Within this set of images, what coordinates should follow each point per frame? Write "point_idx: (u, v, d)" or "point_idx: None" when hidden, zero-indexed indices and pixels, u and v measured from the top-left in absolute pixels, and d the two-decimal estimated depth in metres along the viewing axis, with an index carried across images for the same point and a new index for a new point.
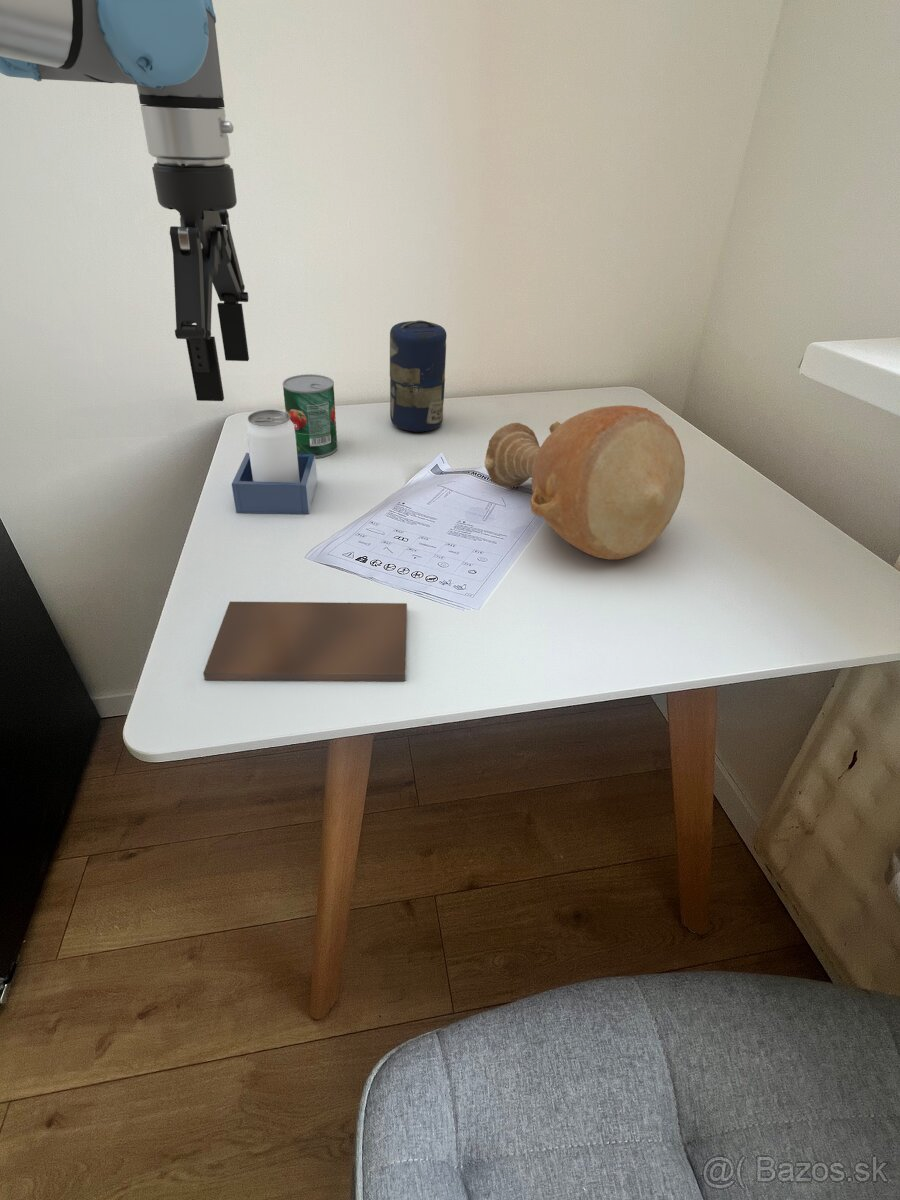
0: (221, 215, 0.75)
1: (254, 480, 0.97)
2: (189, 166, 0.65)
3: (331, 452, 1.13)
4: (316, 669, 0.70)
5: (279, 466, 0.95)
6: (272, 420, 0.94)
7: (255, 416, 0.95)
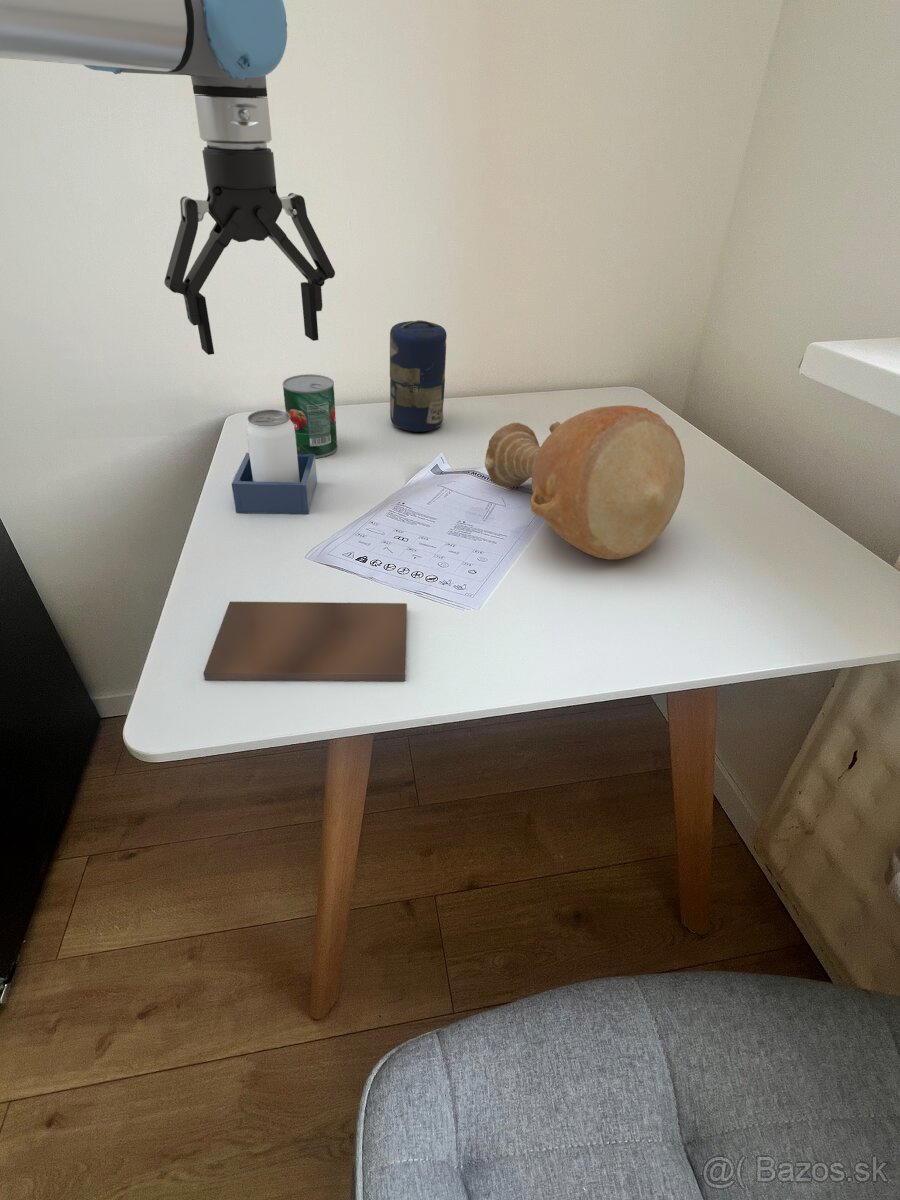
0: (293, 200, 0.81)
1: (254, 480, 0.97)
2: (210, 147, 0.74)
3: (331, 452, 1.13)
4: (316, 669, 0.70)
5: (279, 466, 0.95)
6: (272, 420, 0.94)
7: (255, 416, 0.95)
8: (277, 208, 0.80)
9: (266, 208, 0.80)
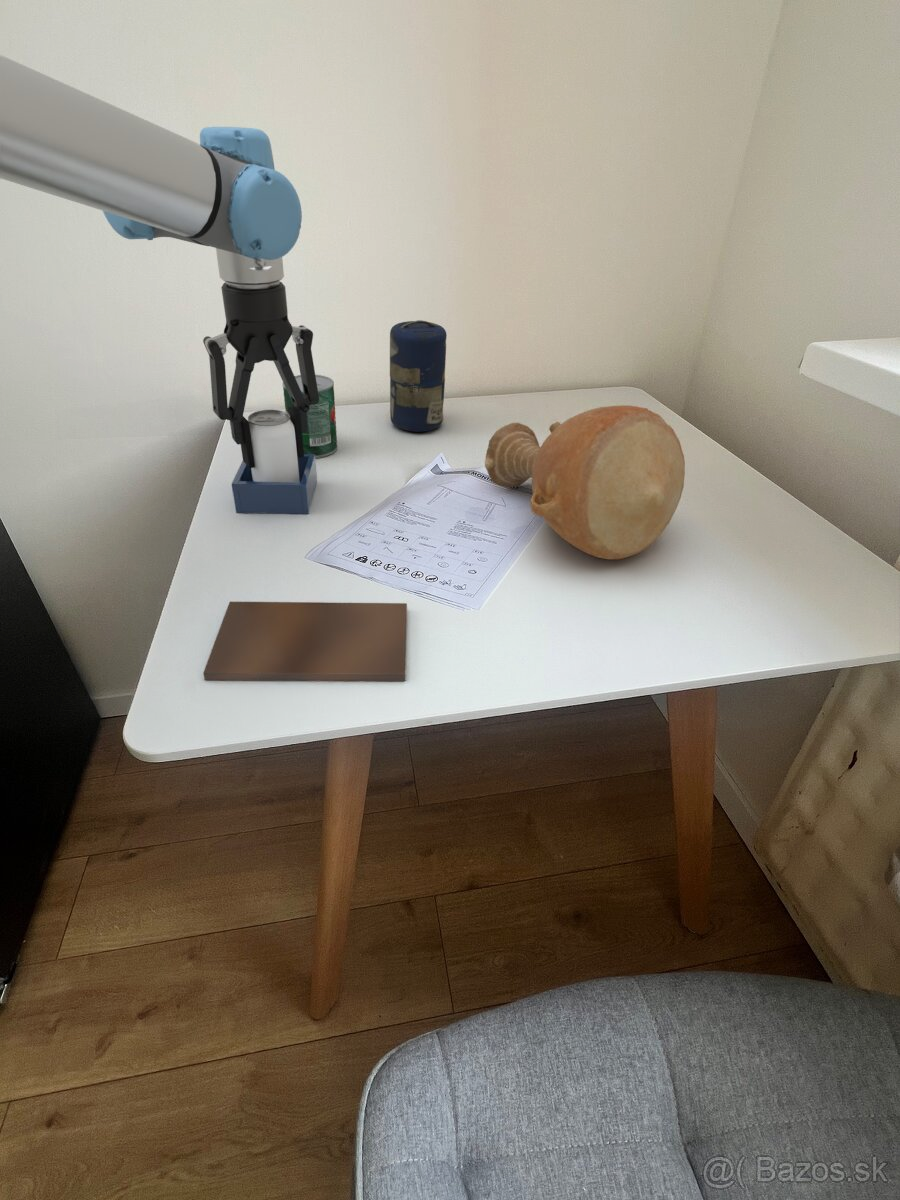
0: (303, 332, 0.90)
1: (254, 480, 0.97)
2: (229, 286, 0.82)
3: (331, 452, 1.13)
4: (316, 669, 0.70)
5: (279, 466, 0.95)
6: (272, 420, 0.94)
7: (255, 416, 0.95)
8: (288, 332, 0.88)
9: (278, 333, 0.88)
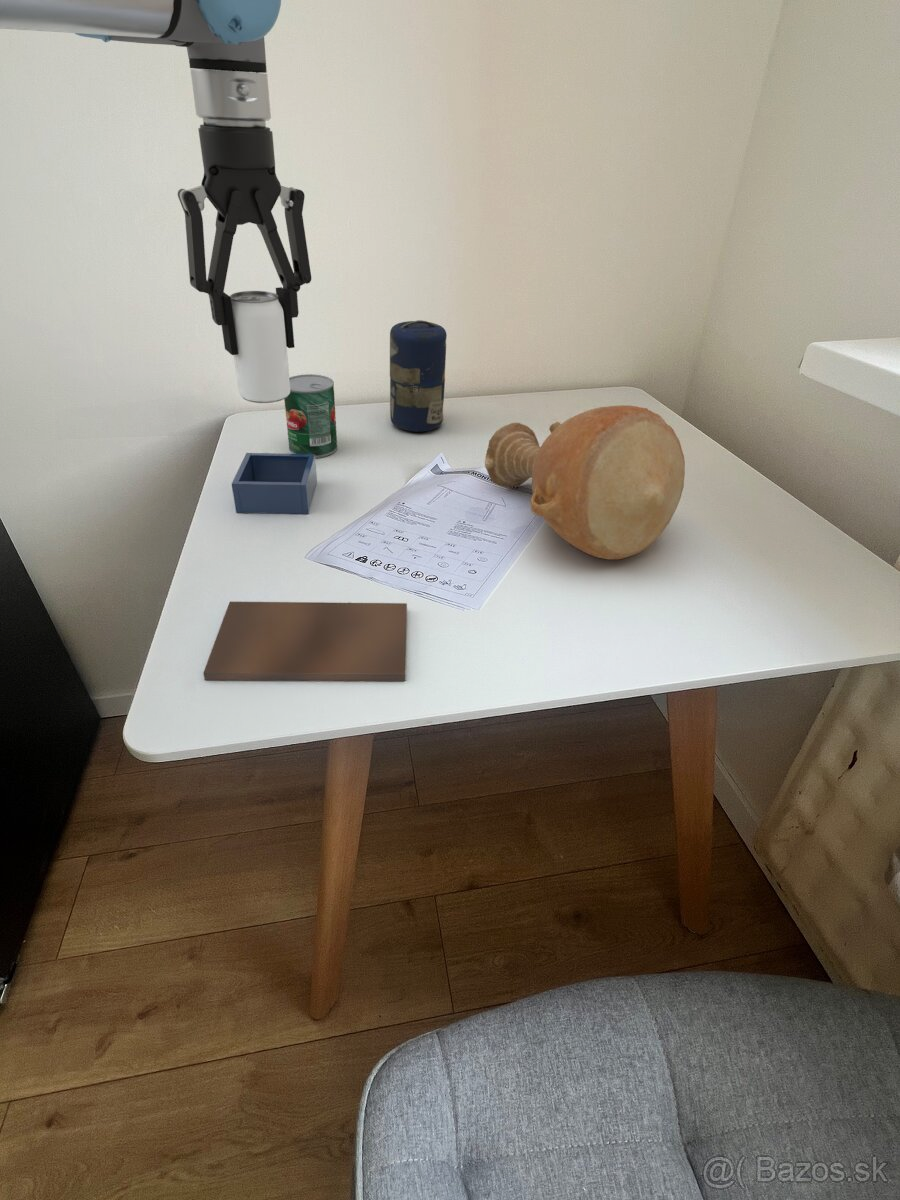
0: (293, 192, 0.79)
1: (237, 372, 0.86)
2: (207, 124, 0.71)
3: (331, 452, 1.13)
4: (316, 669, 0.70)
5: (265, 353, 0.84)
6: (258, 299, 0.83)
7: (238, 296, 0.84)
8: (276, 190, 0.77)
9: (264, 190, 0.77)
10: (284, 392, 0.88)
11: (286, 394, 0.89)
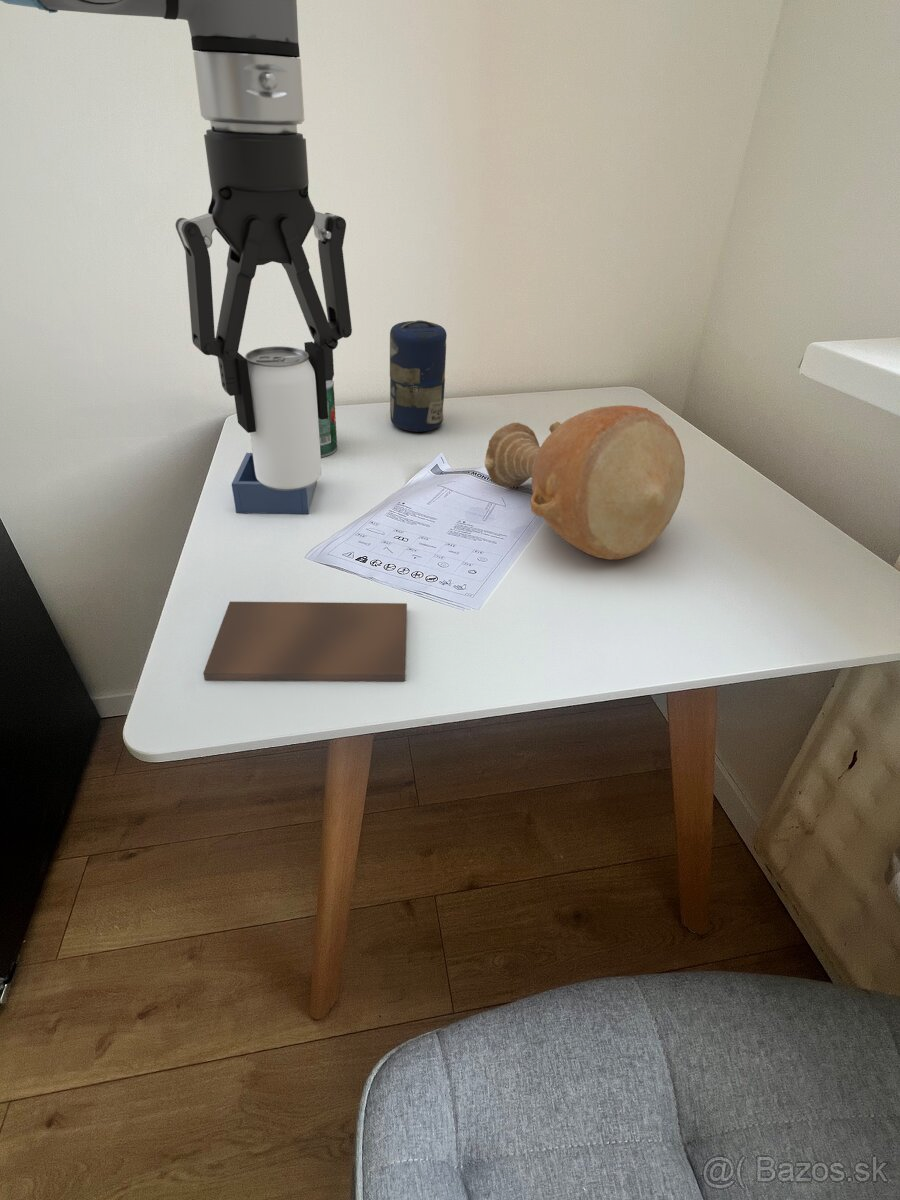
0: (331, 220, 0.58)
1: (254, 452, 0.66)
2: (216, 130, 0.51)
3: (331, 452, 1.13)
4: (316, 669, 0.70)
5: (292, 430, 0.64)
6: (282, 360, 0.62)
7: (256, 355, 0.63)
8: (309, 218, 0.57)
9: (293, 218, 0.56)
10: (314, 475, 0.68)
11: (317, 477, 0.68)
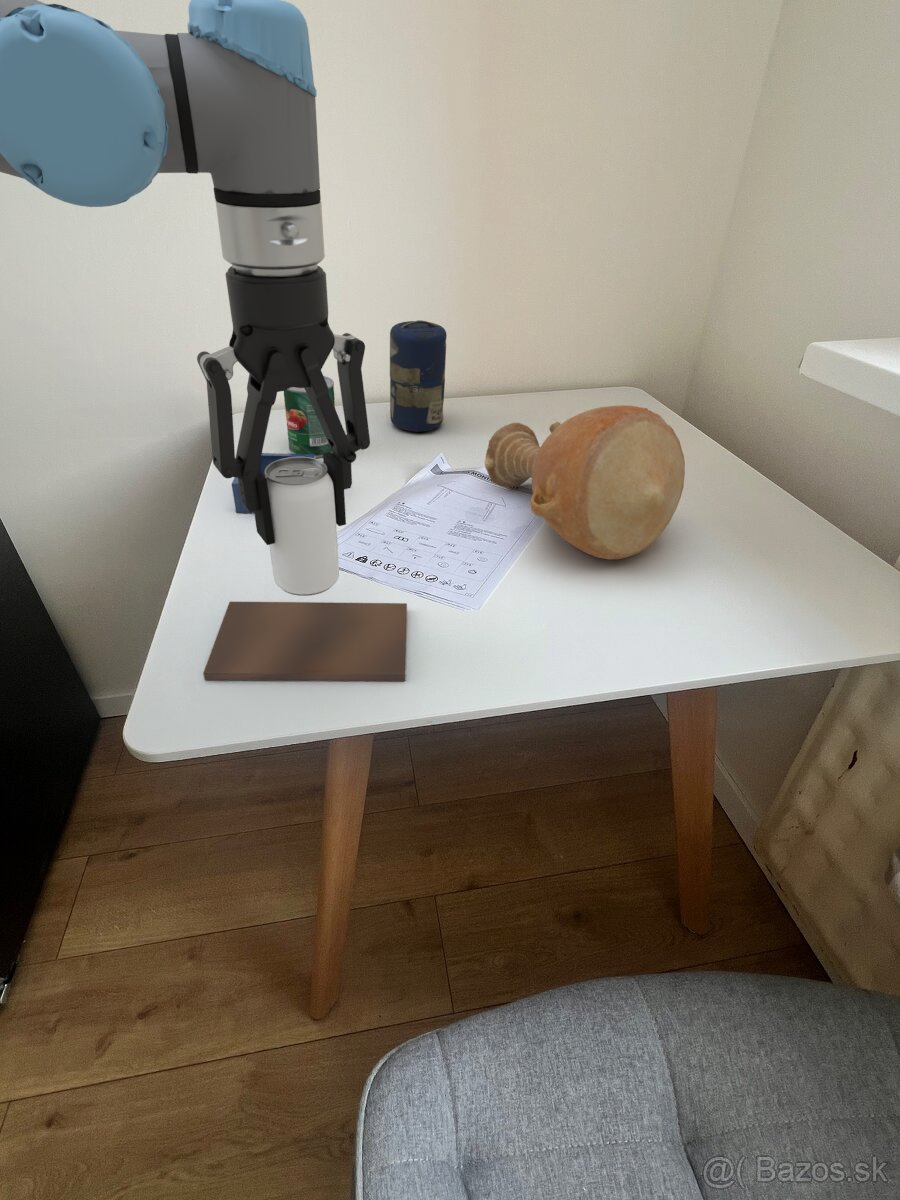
0: (350, 343, 0.59)
1: (273, 559, 0.66)
2: (238, 272, 0.51)
3: (331, 452, 1.13)
4: (316, 669, 0.70)
5: (311, 542, 0.64)
6: (301, 474, 0.63)
7: (275, 468, 0.64)
8: (328, 344, 0.57)
9: (313, 346, 0.57)
10: (332, 580, 0.68)
11: (335, 581, 0.69)
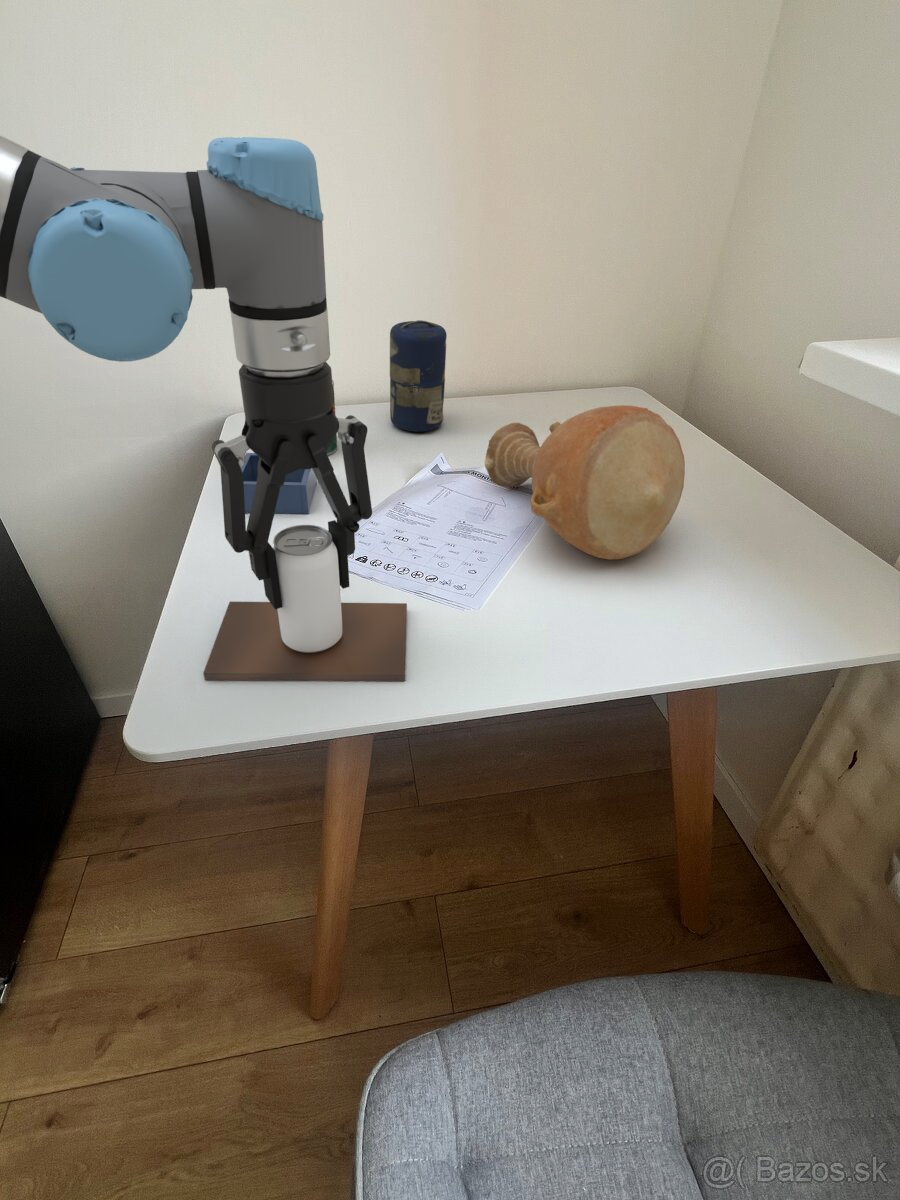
0: (353, 427, 0.63)
1: (281, 620, 0.71)
2: (251, 372, 0.56)
3: (331, 452, 1.13)
4: (316, 669, 0.70)
5: (316, 605, 0.68)
6: (307, 544, 0.67)
7: (283, 536, 0.68)
8: (333, 430, 0.62)
9: (319, 432, 0.61)
10: (336, 638, 0.73)
11: (338, 638, 0.73)
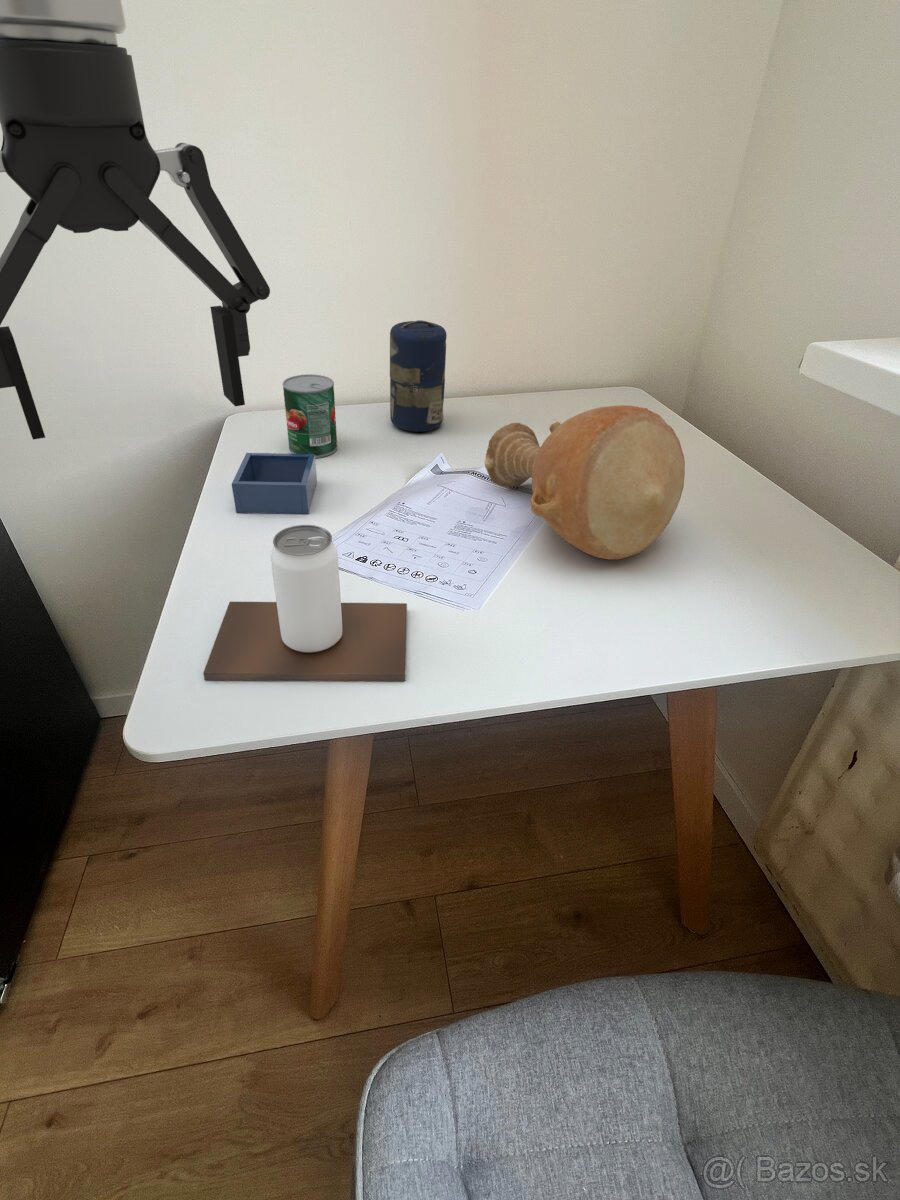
0: (182, 155, 0.43)
1: (281, 620, 0.71)
2: None
3: (331, 452, 1.13)
4: (316, 669, 0.70)
5: (316, 605, 0.68)
6: (307, 544, 0.67)
7: (283, 536, 0.68)
8: (149, 169, 0.42)
9: (126, 168, 0.41)
10: (336, 638, 0.73)
11: (338, 638, 0.73)
